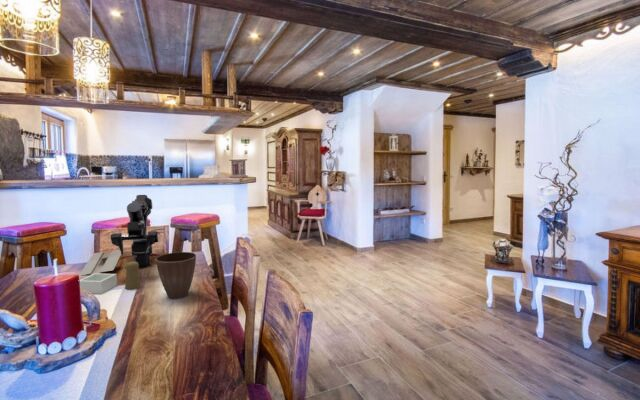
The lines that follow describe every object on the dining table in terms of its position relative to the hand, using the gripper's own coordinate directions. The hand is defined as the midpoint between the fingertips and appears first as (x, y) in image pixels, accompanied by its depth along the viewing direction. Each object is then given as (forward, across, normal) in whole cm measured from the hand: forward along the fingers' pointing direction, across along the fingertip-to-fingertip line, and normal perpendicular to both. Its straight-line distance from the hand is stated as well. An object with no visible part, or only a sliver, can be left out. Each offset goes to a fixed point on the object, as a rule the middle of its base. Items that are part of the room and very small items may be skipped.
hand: (133, 253), depth 153 cm
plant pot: (+26, +18, -7) cm, 32 cm away
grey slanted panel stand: (-7, -17, +25) cm, 31 cm away
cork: (+14, 0, +4) cm, 15 cm away
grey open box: (+12, -13, +6) cm, 19 cm away
